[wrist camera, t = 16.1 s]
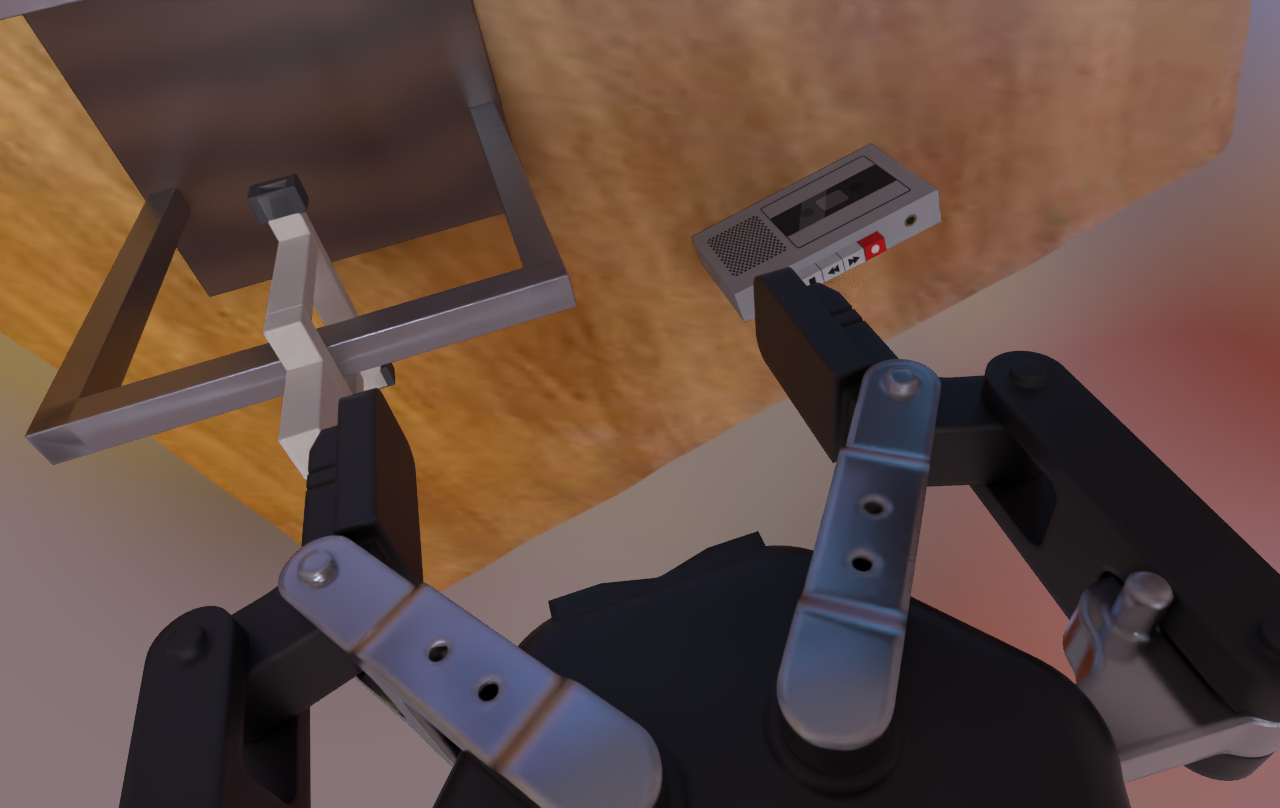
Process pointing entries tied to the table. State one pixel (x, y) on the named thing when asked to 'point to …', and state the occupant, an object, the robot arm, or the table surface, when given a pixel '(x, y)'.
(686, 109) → the table surface
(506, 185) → the rack
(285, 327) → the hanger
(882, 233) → the cassette player
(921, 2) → the table surface
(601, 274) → the table surface
